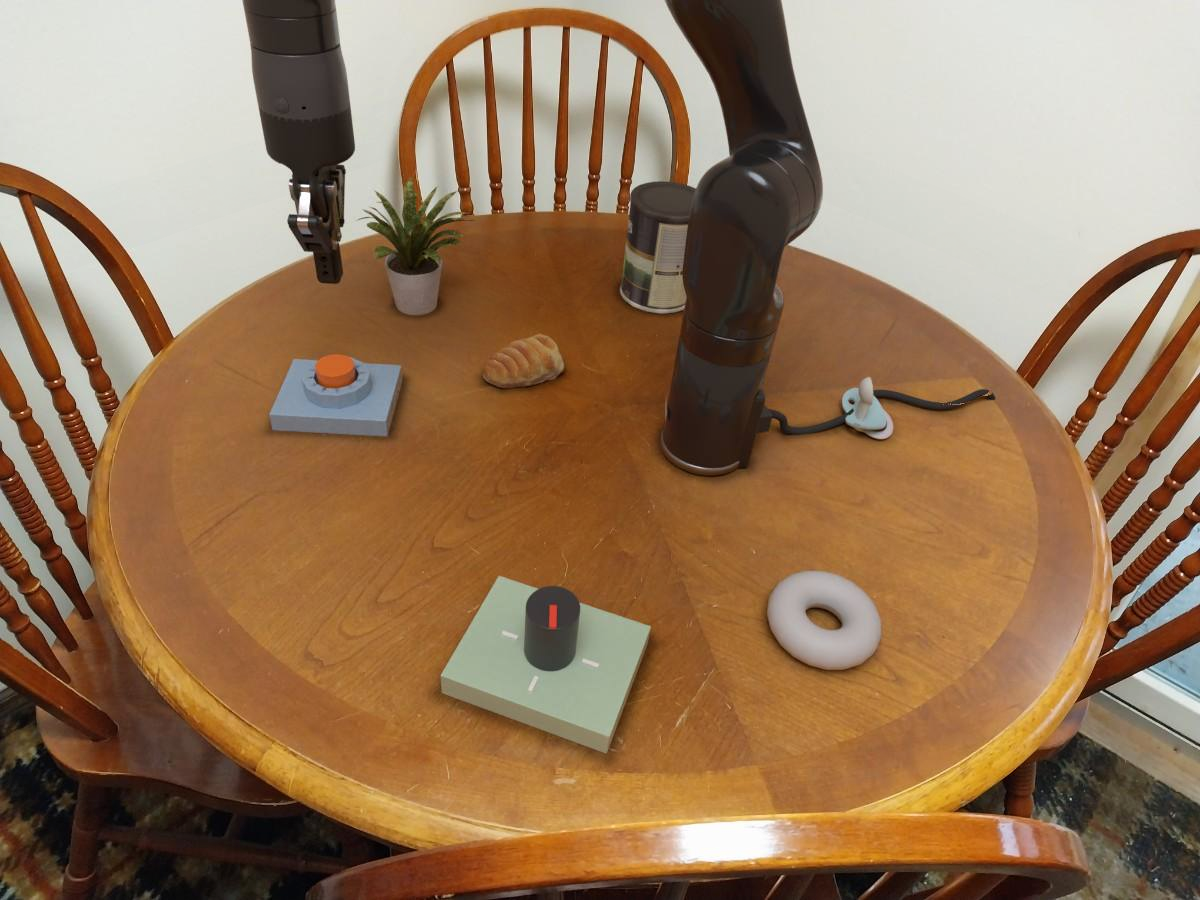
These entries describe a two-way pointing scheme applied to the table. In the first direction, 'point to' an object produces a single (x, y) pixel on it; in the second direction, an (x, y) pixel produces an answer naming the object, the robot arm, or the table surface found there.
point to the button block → (338, 401)
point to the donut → (814, 641)
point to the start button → (335, 371)
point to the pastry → (524, 363)
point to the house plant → (414, 250)
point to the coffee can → (656, 247)
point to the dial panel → (547, 698)
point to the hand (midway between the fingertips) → (330, 279)
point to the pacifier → (867, 411)
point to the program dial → (551, 628)
